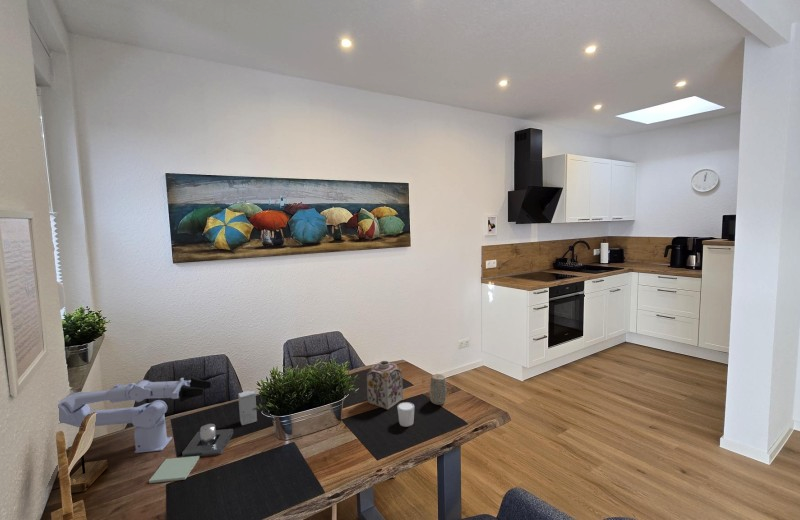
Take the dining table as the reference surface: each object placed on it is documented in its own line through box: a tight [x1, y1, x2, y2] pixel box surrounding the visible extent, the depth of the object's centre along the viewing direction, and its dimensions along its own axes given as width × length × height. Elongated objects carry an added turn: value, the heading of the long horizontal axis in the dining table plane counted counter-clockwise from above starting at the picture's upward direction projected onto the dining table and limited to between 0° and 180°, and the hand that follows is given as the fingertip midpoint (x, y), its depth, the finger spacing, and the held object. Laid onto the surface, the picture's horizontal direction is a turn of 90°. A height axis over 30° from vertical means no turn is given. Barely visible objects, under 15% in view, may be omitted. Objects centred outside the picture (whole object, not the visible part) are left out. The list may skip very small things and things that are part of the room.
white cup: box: [396, 401, 415, 427], centre depth 150 cm, size 7×7×7 cm
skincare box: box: [237, 389, 258, 426], centre depth 155 cm, size 6×4×12 cm
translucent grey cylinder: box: [199, 423, 217, 445], centre depth 139 cm, size 5×5×7 cm
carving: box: [429, 373, 447, 406], centre depth 165 cm, size 6×8×12 cm
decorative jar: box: [366, 360, 404, 410], centre depth 168 cm, size 12×12×18 cm
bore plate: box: [181, 428, 234, 457], centre depth 140 cm, size 13×13×2 cm
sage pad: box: [148, 456, 201, 484], centre depth 126 cm, size 11×11×1 cm
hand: (207, 388), depth 141 cm, fingers open, 7 cm apart
